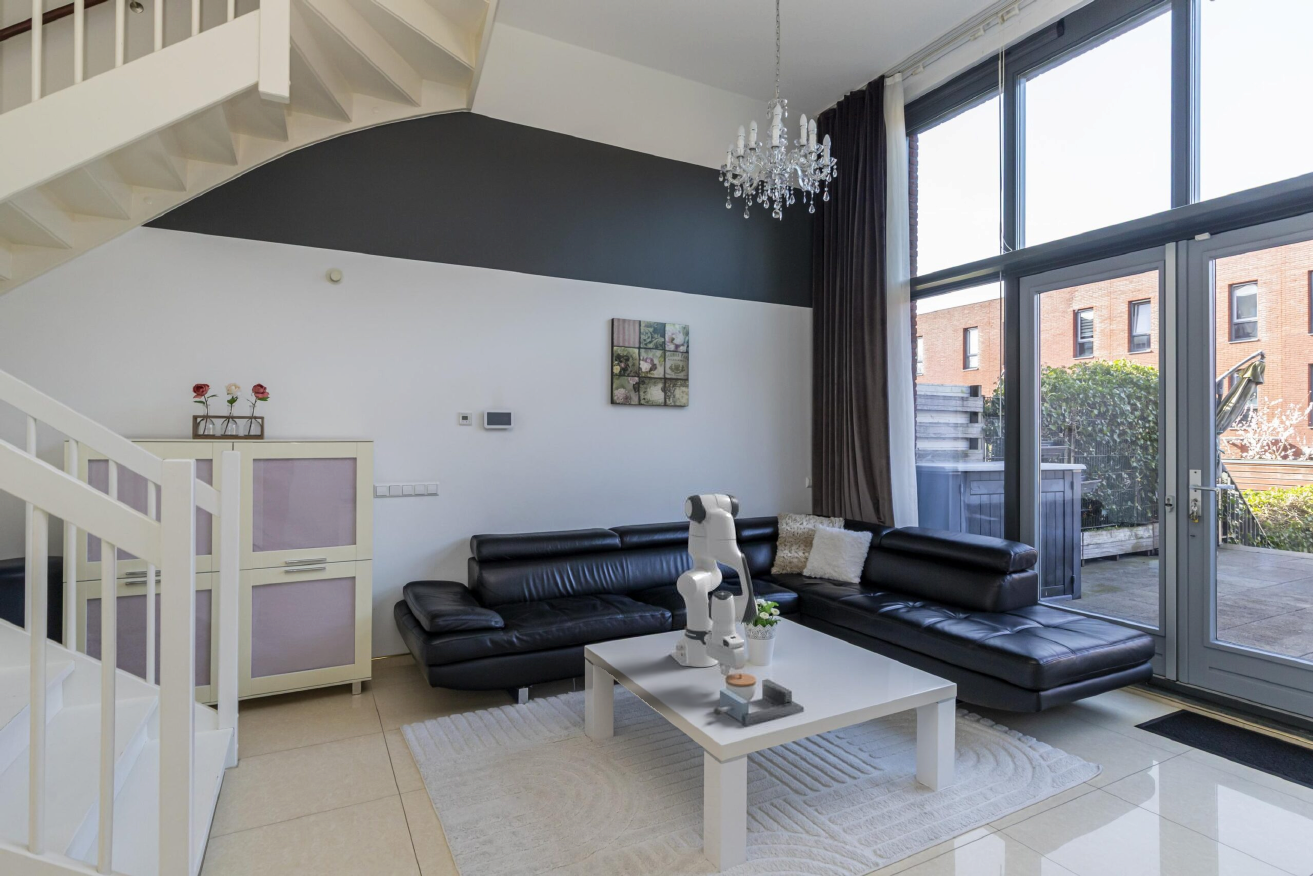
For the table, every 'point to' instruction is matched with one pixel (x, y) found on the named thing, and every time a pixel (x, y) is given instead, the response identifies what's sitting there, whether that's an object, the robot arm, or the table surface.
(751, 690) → the lidded jar
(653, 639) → the table surface
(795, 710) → the vise body
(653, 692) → the table surface
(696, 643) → the robot arm
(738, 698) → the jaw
